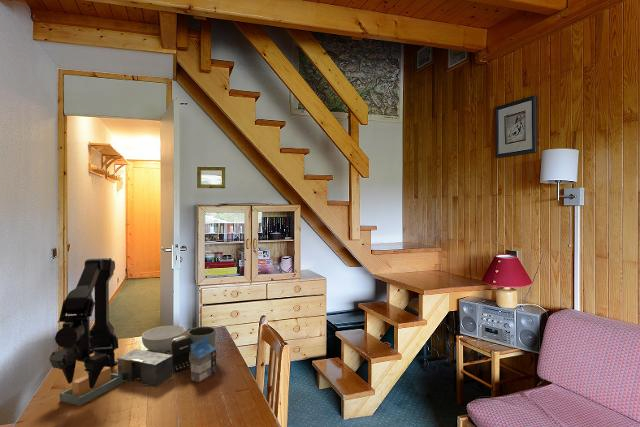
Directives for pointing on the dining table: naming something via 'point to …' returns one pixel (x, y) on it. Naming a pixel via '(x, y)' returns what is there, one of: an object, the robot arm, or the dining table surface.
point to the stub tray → (70, 398)
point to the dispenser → (145, 367)
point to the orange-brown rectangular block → (82, 383)
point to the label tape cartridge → (202, 360)
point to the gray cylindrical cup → (202, 335)
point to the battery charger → (180, 353)
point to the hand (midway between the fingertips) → (80, 385)
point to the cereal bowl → (161, 337)
